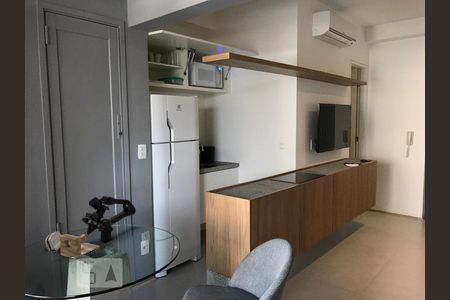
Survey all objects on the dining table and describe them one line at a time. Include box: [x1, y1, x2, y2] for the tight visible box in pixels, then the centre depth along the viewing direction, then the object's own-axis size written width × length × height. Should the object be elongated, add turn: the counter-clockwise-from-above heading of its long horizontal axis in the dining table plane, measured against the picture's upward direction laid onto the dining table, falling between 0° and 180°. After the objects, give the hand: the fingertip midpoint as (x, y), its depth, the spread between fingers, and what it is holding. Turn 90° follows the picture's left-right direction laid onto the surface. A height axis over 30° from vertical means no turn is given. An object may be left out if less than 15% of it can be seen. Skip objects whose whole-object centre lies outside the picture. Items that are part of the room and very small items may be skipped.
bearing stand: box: [60, 233, 101, 258], centre depth 213 cm, size 18×14×12 cm
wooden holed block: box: [67, 233, 87, 246], centre depth 210 cm, size 11×5×5 cm, turn 152°
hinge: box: [44, 231, 62, 252], centre depth 223 cm, size 17×5×10 cm, turn 5°
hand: (87, 234), depth 217 cm, fingers closed
